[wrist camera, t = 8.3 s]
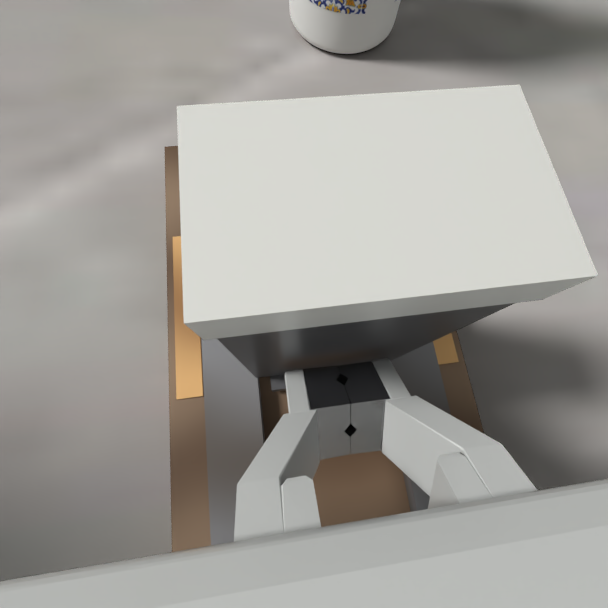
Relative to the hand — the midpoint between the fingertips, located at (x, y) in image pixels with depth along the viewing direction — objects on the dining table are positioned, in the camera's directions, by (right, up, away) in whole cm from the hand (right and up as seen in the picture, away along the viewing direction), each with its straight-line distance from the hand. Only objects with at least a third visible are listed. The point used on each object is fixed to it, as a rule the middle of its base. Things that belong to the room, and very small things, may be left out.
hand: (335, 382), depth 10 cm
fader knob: (0, +1, +4) cm, 4 cm away
